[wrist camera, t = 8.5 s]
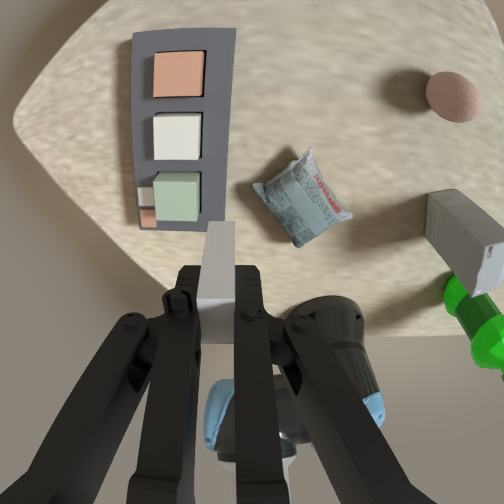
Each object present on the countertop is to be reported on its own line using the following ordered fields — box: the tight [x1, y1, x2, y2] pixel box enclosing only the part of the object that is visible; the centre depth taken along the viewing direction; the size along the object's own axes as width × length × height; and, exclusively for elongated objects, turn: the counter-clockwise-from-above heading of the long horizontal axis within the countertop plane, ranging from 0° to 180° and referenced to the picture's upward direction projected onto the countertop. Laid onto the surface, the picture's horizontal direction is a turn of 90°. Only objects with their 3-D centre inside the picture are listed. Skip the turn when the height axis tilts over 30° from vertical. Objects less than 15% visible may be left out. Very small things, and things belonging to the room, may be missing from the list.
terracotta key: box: [153, 51, 206, 97], centre depth 26 cm, size 5×5×4 cm
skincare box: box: [425, 189, 504, 298], centre depth 34 cm, size 8×7×16 cm
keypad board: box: [131, 28, 236, 232], centre depth 31 cm, size 25×11×3 cm, turn 176°
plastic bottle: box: [443, 275, 504, 381], centre depth 40 cm, size 10×10×25 cm
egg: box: [426, 72, 482, 123], centre depth 26 cm, size 7×7×9 cm
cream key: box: [153, 112, 203, 160], centre depth 30 cm, size 5×5×4 cm
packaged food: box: [252, 147, 352, 248], centre depth 36 cm, size 9×12×5 cm
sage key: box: [153, 171, 201, 221], centre depth 33 cm, size 5×5×4 cm
